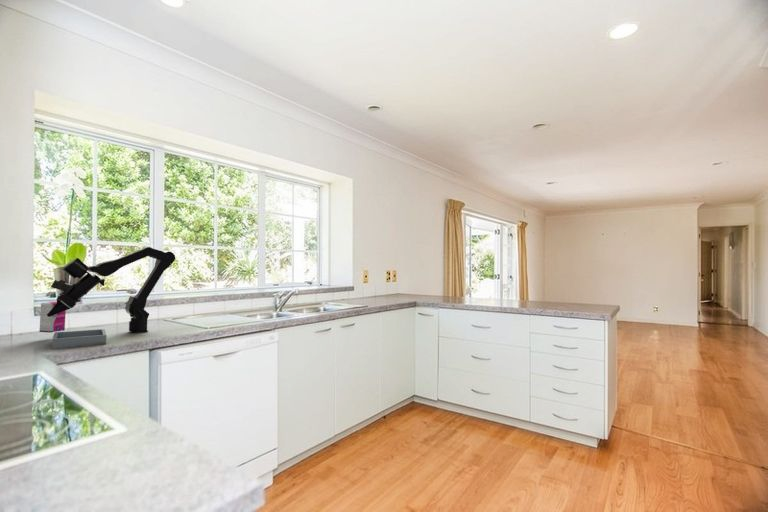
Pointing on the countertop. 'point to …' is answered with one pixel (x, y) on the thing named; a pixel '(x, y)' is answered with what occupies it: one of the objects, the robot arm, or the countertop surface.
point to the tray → (78, 338)
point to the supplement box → (51, 319)
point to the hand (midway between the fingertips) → (48, 314)
